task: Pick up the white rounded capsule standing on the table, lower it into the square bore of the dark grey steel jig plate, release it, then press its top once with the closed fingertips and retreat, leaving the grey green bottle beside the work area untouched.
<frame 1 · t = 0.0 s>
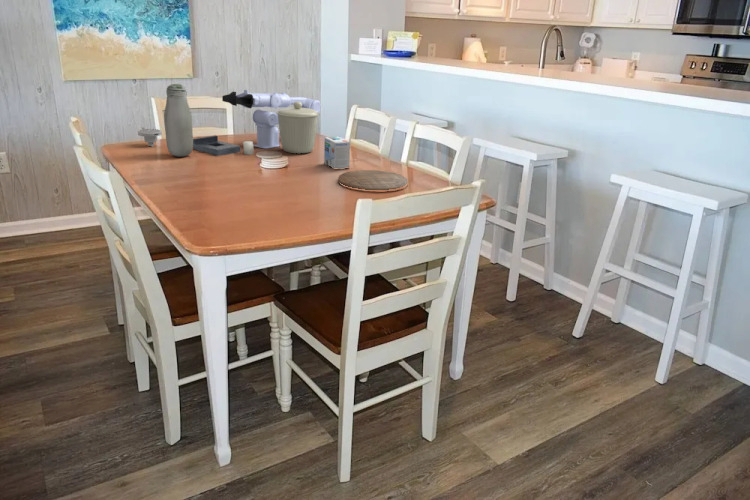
hand: (229, 99, 233), 22 cm above the table, fingers open, 7 cm apart
showerhead: (150, 146, 246), on the table
canister: (297, 151, 250), on the table
light bulb box: (336, 166, 228), on the table
white rounded capsule: (248, 153, 241), on the table
trivet: (372, 184, 207), on the table
grey green bottle: (181, 156, 231), on the table
jig: (217, 150, 243), on the table
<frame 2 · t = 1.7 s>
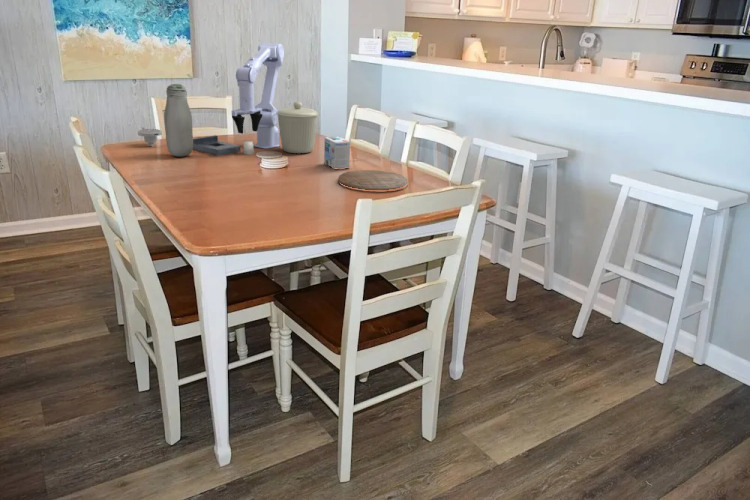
hand: (247, 132, 237), 9 cm above the table, fingers open, 7 cm apart
nothing on the table moved.
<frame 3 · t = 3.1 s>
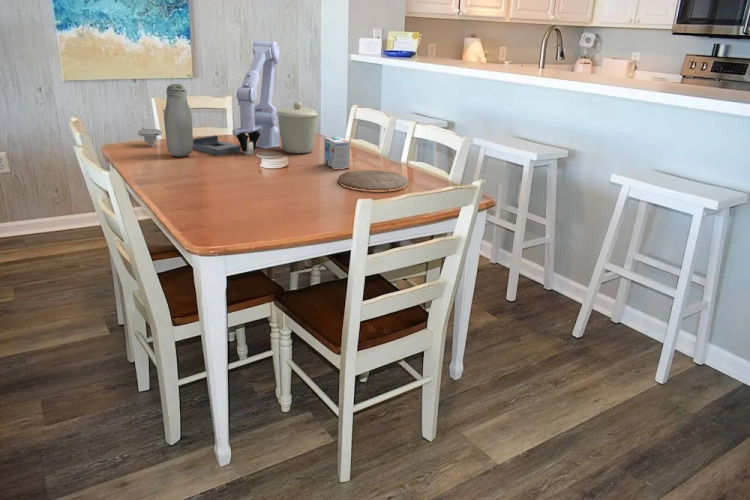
hand: (248, 150, 240), 1 cm above the table, fingers closed on white rounded capsule, 4 cm apart
white rounded capsule: (248, 153, 241), on the table, touching gripper
everything else where it was.
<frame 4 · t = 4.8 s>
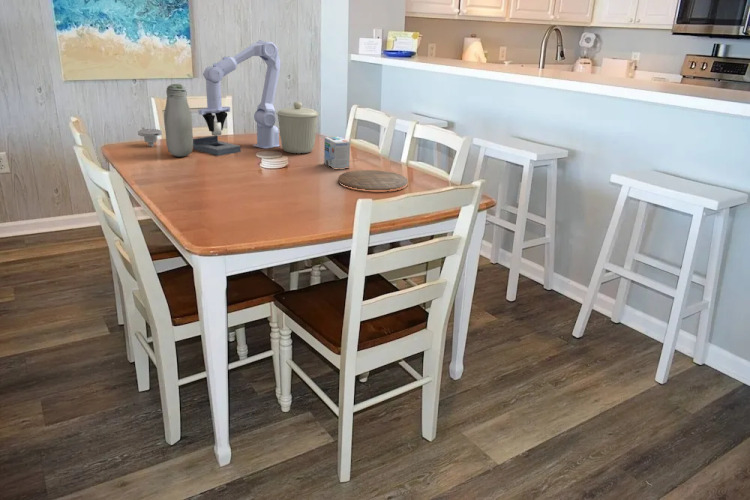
hand: (215, 130, 240), 8 cm above the table, fingers closed on white rounded capsule, 4 cm apart
white rounded capsule: (216, 134, 241), point 7 cm above the table, touching gripper
everything else where it was.
when the fingers open (3 cm above the table, at t = 6.5 s): white rounded capsule drops 1 cm, resting in jig.
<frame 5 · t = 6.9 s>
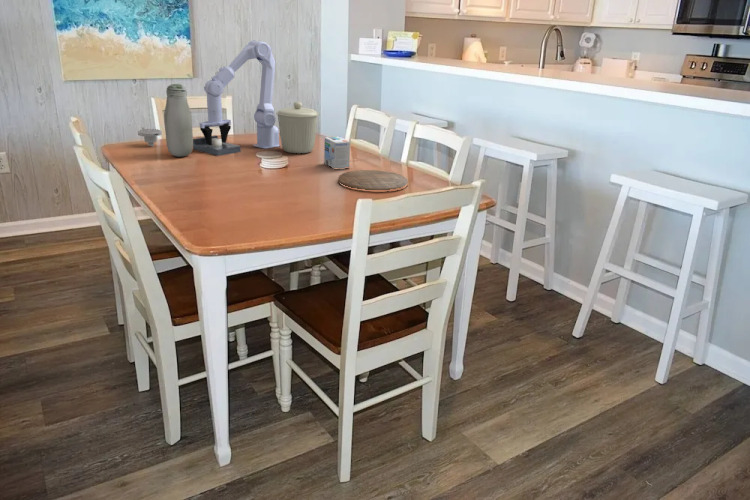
hand: (216, 143, 242), 3 cm above the table, fingers open, 7 cm apart
white rounded capsule: (217, 150, 243), resting in jig
everything else where it was.
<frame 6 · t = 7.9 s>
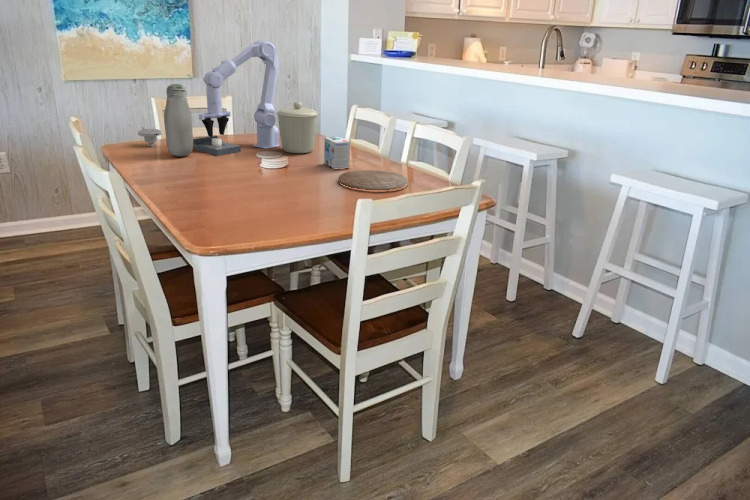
hand: (216, 135, 241), 6 cm above the table, fingers open, 5 cm apart
nothing on the table moved.
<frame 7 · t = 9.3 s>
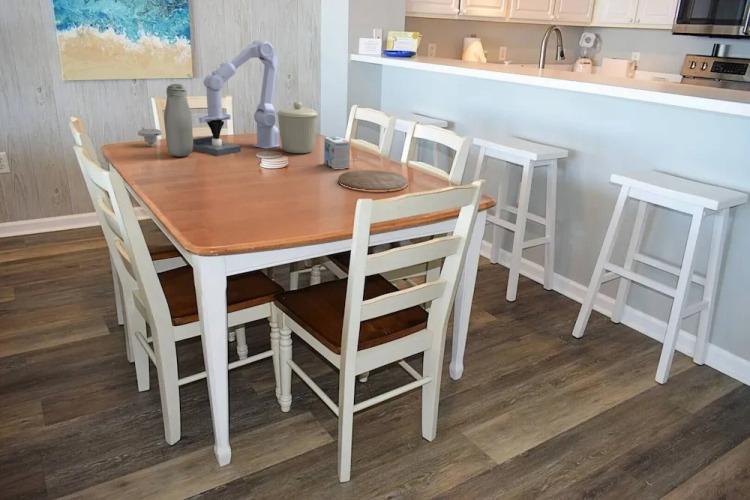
hand: (216, 138, 241), 5 cm above the table, fingers closed
nothing on the table moved.
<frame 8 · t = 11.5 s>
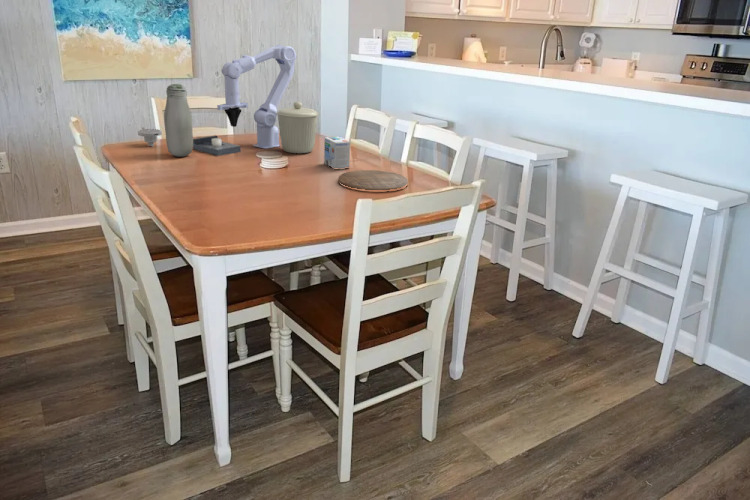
hand: (233, 126, 243), 10 cm above the table, fingers closed
nothing on the table moved.
at the end: white rounded capsule 0.3 cm off-centre on the jig, point 0.0 cm above the jig's base; white rounded capsule tilted 1°; grey green bottle moved 0.2 cm from its start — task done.
